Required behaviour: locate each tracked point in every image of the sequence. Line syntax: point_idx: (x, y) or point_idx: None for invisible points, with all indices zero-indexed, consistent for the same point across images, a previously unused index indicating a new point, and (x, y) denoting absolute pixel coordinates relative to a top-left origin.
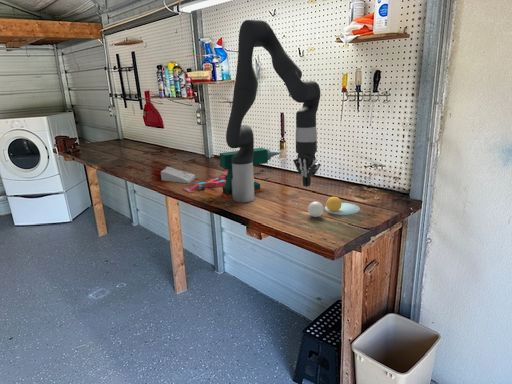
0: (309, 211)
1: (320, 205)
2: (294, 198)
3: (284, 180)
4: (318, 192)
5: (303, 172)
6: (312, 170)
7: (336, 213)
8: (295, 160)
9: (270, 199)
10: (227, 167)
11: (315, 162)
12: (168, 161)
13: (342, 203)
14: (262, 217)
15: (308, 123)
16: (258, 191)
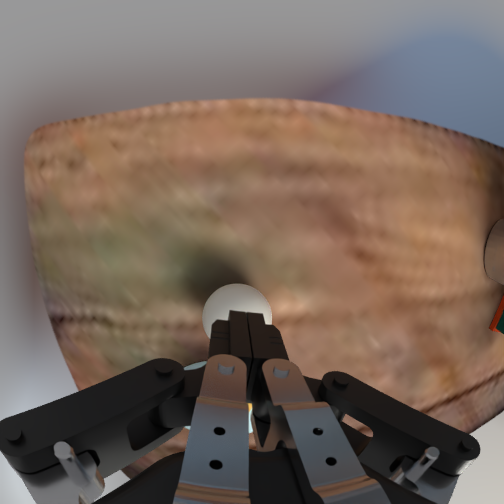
0: (243, 285)
1: (210, 331)
2: (402, 365)
3: (465, 407)
4: (364, 432)
5: (268, 389)
6: (69, 400)
7: (198, 366)
8: (456, 459)
9: (454, 306)
10: None
11: (36, 498)
12: None
13: (249, 427)
14: (387, 157)
15: None
16: (494, 318)
